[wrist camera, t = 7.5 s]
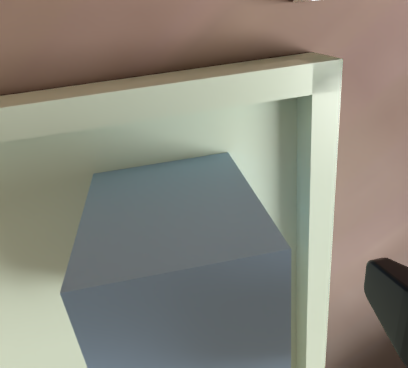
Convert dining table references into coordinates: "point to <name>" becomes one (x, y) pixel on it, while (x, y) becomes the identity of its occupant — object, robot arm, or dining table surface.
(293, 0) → the dish
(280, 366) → the block
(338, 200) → the dining table surface
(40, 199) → the tray
